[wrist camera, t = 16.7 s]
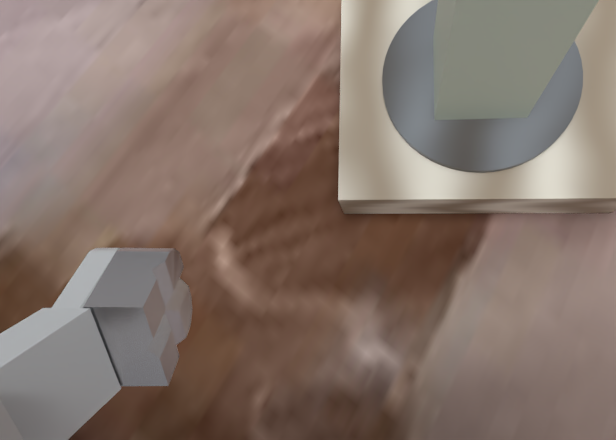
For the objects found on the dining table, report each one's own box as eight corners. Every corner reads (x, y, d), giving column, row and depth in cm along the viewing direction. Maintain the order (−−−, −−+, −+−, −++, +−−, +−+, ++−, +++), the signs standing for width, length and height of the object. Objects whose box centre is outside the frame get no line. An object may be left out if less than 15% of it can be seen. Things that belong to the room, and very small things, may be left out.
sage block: (434, 120, 33) (458, -13, 20) (433, 38, 34) (455, -138, 21) (527, 117, 32) (612, -22, 19) (523, 33, 33) (602, -151, 20)
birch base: (344, 213, 37) (337, 197, 33) (347, 13, 40) (341, -27, 35) (610, 212, 35) (641, 195, 30) (595, 0, 37) (622, -45, 33)
